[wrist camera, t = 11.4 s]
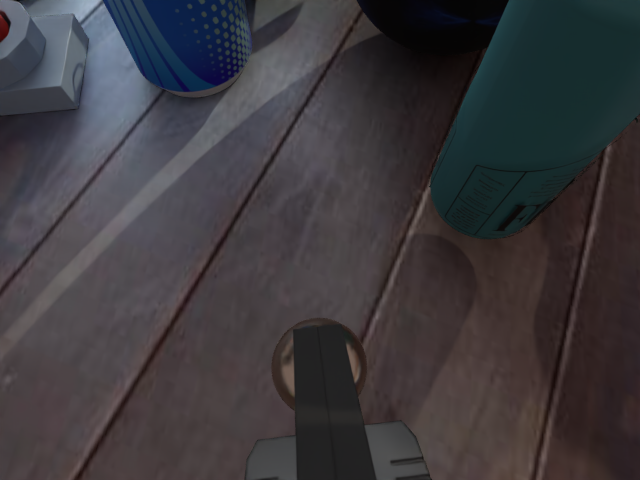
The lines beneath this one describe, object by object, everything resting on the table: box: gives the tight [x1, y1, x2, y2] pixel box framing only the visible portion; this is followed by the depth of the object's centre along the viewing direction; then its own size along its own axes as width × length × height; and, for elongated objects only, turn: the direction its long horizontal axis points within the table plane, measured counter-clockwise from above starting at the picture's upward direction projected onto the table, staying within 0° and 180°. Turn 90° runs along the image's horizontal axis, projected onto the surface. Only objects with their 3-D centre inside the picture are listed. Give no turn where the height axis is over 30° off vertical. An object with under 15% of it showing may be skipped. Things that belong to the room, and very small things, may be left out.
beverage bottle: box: [429, 0, 640, 239], centre depth 17 cm, size 6×7×20 cm
